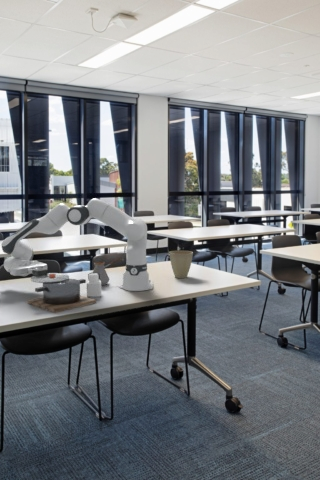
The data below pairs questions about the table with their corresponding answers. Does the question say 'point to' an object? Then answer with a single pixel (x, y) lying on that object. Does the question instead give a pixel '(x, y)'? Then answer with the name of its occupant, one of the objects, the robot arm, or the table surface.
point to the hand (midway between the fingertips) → (36, 271)
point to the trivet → (58, 308)
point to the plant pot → (181, 262)
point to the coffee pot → (103, 271)
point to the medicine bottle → (93, 285)
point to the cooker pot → (61, 292)
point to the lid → (47, 276)
